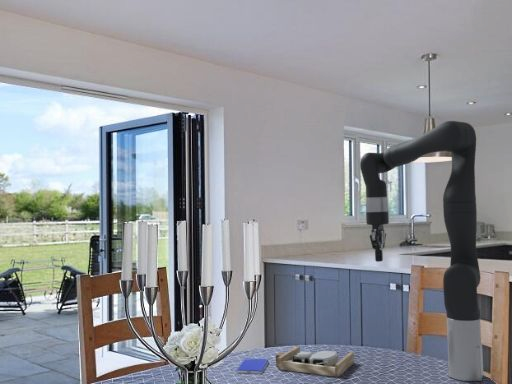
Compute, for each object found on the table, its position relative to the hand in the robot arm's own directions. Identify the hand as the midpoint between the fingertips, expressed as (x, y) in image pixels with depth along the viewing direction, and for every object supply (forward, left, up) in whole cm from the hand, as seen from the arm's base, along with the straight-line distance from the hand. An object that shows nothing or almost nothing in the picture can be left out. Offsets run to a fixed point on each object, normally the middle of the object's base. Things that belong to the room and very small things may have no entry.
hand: (379, 261), depth 183 cm
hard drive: (+34, +30, -33) cm, 56 cm away
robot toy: (+16, +21, -32) cm, 42 cm away
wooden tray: (+17, +21, -32) cm, 41 cm away
